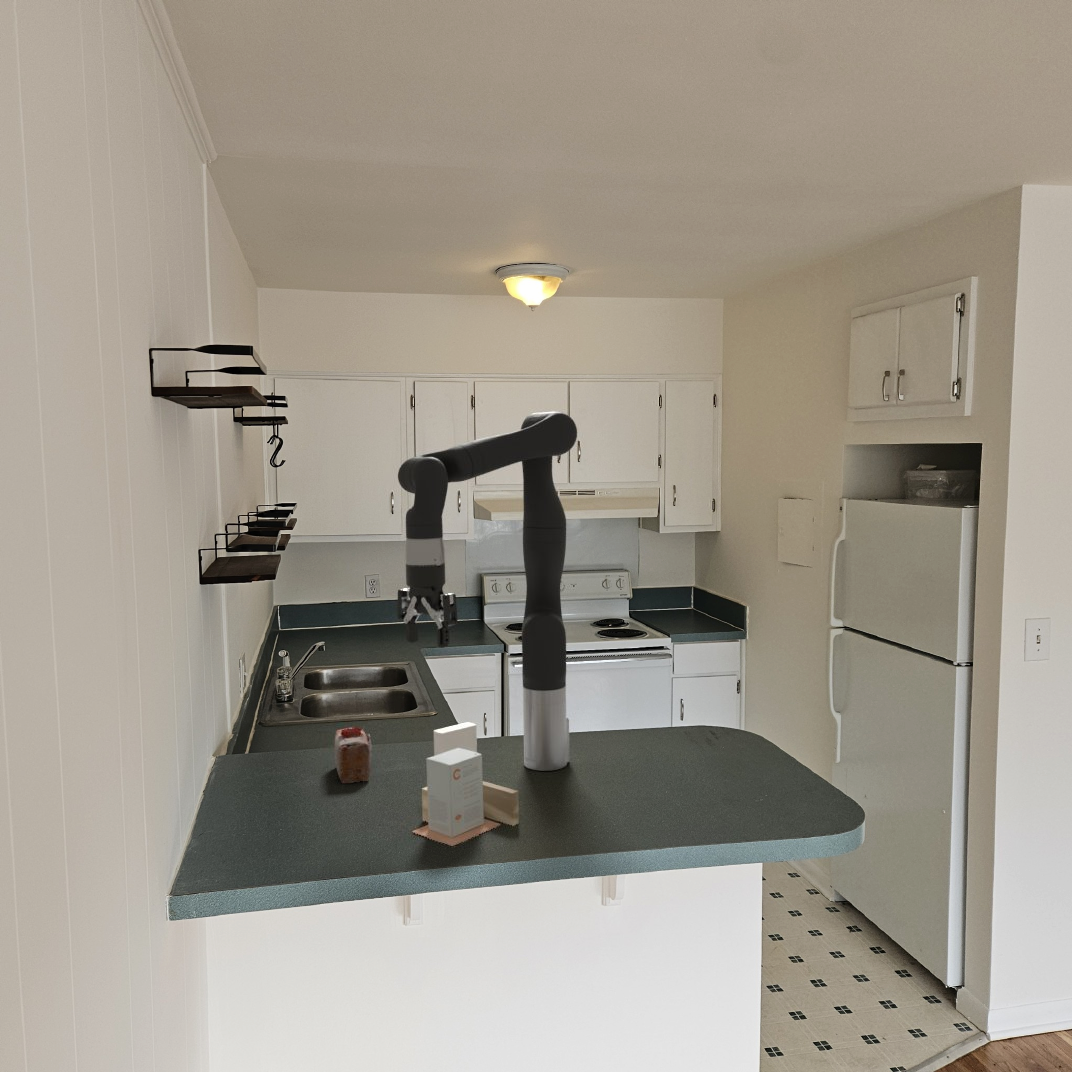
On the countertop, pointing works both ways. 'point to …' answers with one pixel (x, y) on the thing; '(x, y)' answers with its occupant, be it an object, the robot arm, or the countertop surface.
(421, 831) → the mat
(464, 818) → the small box
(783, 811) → the countertop surface
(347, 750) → the food item
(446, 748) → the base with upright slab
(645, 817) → the countertop surface
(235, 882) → the countertop surface
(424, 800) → the wall side
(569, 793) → the countertop surface
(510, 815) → the wall back
